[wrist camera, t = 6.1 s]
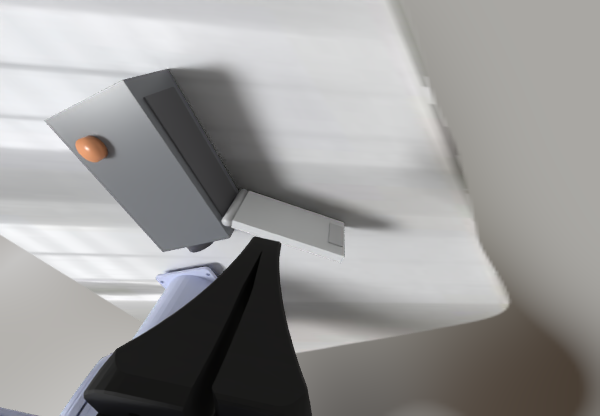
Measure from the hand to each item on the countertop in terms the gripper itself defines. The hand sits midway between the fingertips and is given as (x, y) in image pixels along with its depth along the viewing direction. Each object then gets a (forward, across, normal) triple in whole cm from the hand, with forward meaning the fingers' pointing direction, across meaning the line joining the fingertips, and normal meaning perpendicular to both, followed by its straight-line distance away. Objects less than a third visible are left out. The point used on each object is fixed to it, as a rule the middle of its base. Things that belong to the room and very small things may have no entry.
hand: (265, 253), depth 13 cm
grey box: (+10, +10, +2) cm, 14 cm away
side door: (+10, +4, +4) cm, 11 cm away
